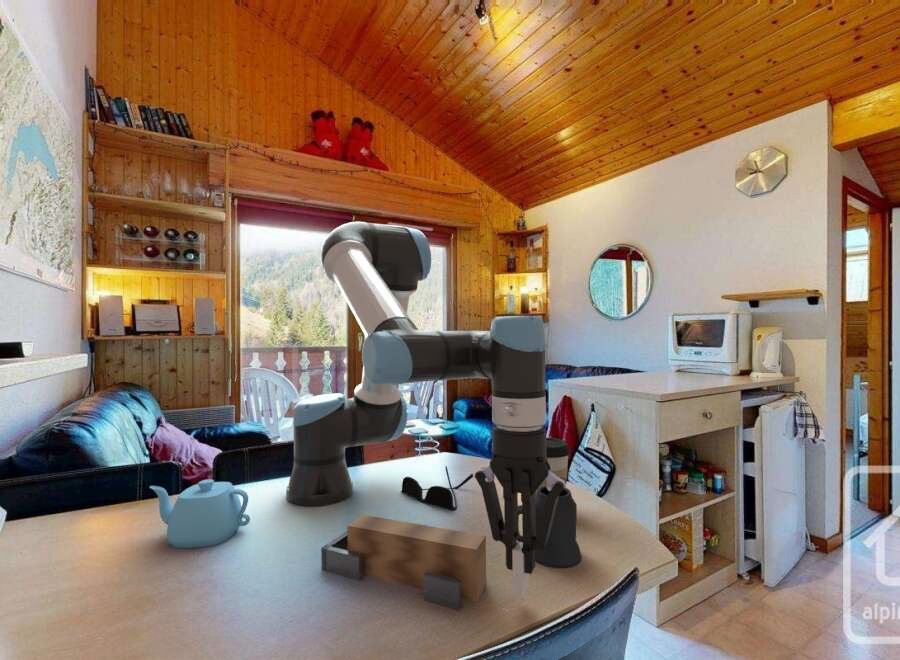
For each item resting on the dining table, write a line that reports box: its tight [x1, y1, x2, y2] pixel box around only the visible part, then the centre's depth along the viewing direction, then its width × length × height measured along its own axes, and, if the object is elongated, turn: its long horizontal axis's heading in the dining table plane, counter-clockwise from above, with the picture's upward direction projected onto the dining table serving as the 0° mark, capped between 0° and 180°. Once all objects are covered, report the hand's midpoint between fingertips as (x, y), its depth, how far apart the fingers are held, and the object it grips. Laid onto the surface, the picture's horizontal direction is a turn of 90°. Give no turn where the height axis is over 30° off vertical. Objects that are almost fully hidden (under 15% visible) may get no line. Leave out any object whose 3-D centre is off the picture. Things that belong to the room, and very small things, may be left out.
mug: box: [517, 485, 582, 569], centre depth 77 cm, size 12×9×11 cm
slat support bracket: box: [320, 530, 364, 582], centre depth 74 cm, size 8×9×4 cm
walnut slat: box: [347, 514, 487, 603], centre depth 70 cm, size 22×4×8 cm, turn 68°
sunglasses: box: [400, 465, 474, 512], centre depth 105 cm, size 17×14×5 cm
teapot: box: [149, 478, 251, 549], centre depth 85 cm, size 13×11×18 cm
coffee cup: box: [536, 436, 571, 494], centre depth 95 cm, size 10×10×15 cm
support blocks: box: [423, 572, 463, 612], centre depth 67 cm, size 6×9×4 cm, turn 155°
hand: (520, 592), depth 62 cm, fingers closed
